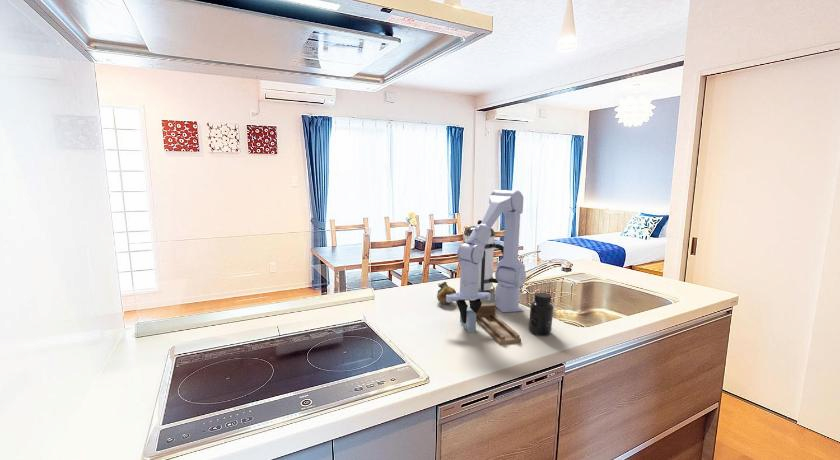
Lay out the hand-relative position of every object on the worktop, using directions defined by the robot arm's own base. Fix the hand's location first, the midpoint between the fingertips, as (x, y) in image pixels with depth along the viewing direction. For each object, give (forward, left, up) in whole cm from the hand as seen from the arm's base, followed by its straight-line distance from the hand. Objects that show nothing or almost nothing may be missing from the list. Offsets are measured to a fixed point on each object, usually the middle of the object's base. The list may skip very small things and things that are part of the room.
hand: (467, 321), depth 124 cm
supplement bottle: (+8, +21, -2) cm, 23 cm away
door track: (+4, +8, -2) cm, 9 cm away
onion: (-23, 0, -2) cm, 23 cm away
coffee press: (-35, +19, -2) cm, 40 cm away
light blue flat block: (0, 0, -2) cm, 2 cm away
